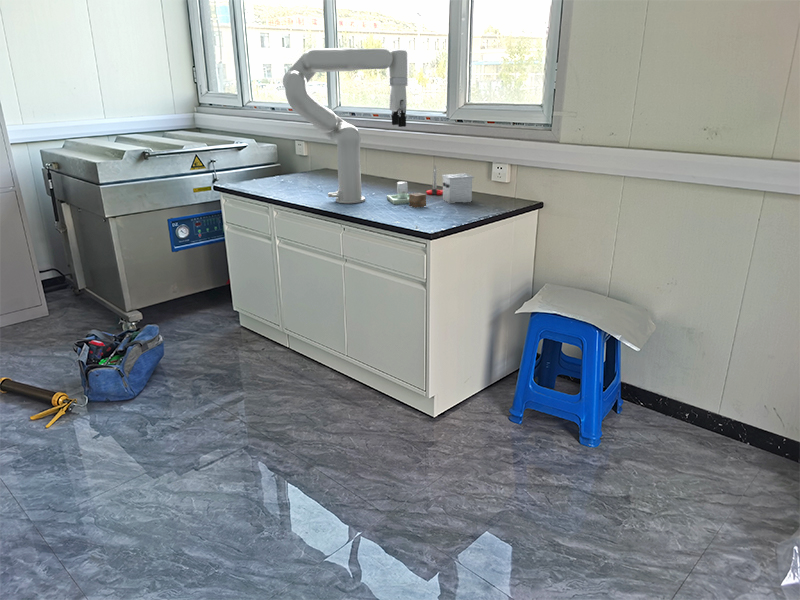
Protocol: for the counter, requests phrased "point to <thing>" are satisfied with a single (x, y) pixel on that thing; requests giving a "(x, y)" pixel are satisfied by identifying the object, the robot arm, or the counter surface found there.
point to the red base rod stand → (434, 186)
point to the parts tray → (394, 199)
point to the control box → (457, 187)
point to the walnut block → (417, 200)
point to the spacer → (402, 190)
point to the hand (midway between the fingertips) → (398, 125)
